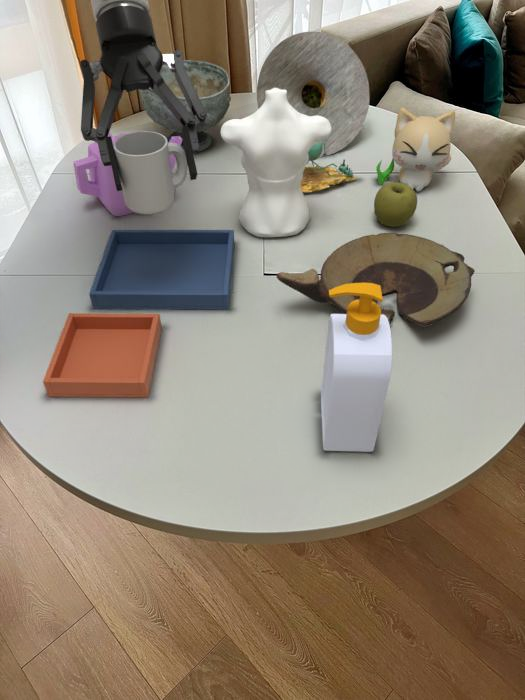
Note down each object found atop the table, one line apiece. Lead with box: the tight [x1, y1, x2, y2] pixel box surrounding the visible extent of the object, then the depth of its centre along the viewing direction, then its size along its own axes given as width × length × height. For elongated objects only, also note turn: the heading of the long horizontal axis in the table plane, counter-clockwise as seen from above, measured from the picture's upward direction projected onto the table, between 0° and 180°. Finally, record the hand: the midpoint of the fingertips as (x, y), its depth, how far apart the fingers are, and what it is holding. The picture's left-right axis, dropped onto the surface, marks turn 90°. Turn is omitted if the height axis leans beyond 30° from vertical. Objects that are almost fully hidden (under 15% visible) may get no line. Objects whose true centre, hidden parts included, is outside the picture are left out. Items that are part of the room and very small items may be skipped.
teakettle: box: [73, 130, 182, 217], centre depth 109 cm, size 17×17×12 cm
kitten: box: [376, 107, 456, 193], centre depth 110 cm, size 15×10×15 cm
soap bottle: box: [320, 283, 393, 453], centre depth 65 cm, size 9×7×23 cm
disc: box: [256, 31, 371, 158], centre depth 127 cm, size 25×18×25 cm
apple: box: [373, 181, 418, 228], centre depth 103 cm, size 8×8×7 cm
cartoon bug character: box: [301, 141, 358, 194], centre depth 111 cm, size 10×18×15 cm, turn 83°
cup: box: [113, 130, 189, 215], centre depth 79 cm, size 7×10×9 cm
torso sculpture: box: [219, 88, 331, 238], centre depth 96 cm, size 18×10×25 cm, turn 95°
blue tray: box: [88, 229, 236, 310], centre depth 94 cm, size 22×18×3 cm
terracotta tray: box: [42, 312, 163, 398], centre depth 80 cm, size 14×14×3 cm
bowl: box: [138, 59, 232, 152], centre depth 123 cm, size 20×19×15 cm
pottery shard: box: [275, 232, 476, 327], centre depth 89 cm, size 22×30×8 cm
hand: (157, 182), depth 77 cm, fingers closed on cup, 10 cm apart
